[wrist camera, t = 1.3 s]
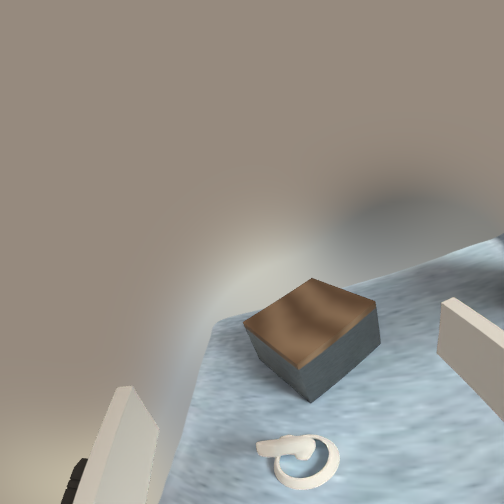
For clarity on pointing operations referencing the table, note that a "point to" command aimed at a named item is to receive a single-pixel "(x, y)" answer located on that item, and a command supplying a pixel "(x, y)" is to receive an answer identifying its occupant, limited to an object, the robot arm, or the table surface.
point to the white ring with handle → (299, 458)
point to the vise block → (315, 336)
